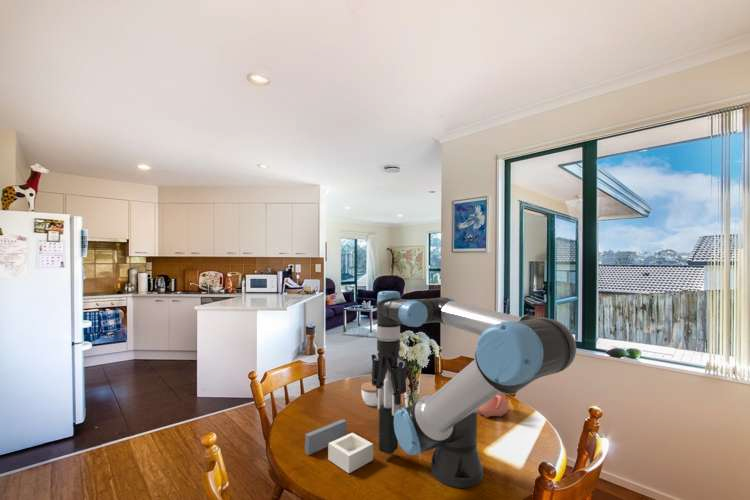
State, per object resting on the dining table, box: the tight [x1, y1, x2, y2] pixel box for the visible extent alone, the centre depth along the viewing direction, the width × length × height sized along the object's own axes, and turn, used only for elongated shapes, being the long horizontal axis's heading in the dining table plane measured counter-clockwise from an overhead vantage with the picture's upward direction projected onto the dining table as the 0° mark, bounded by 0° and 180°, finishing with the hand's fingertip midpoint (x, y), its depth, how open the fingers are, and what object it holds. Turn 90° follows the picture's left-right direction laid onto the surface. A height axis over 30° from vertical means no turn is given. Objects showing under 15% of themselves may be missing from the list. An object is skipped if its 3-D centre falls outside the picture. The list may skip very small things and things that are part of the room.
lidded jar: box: [360, 381, 384, 407], centre depth 152 cm, size 11×11×9 cm
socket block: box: [327, 432, 374, 474], centre depth 108 cm, size 10×10×5 cm
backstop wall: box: [304, 418, 348, 456], centre depth 117 cm, size 2×16×6 cm, turn 135°
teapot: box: [477, 393, 509, 419], centre depth 144 cm, size 13×20×12 cm, turn 11°
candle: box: [378, 369, 399, 455], centre depth 111 cm, size 5×5×25 cm
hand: (388, 411), depth 111 cm, fingers closed on candle, 6 cm apart
